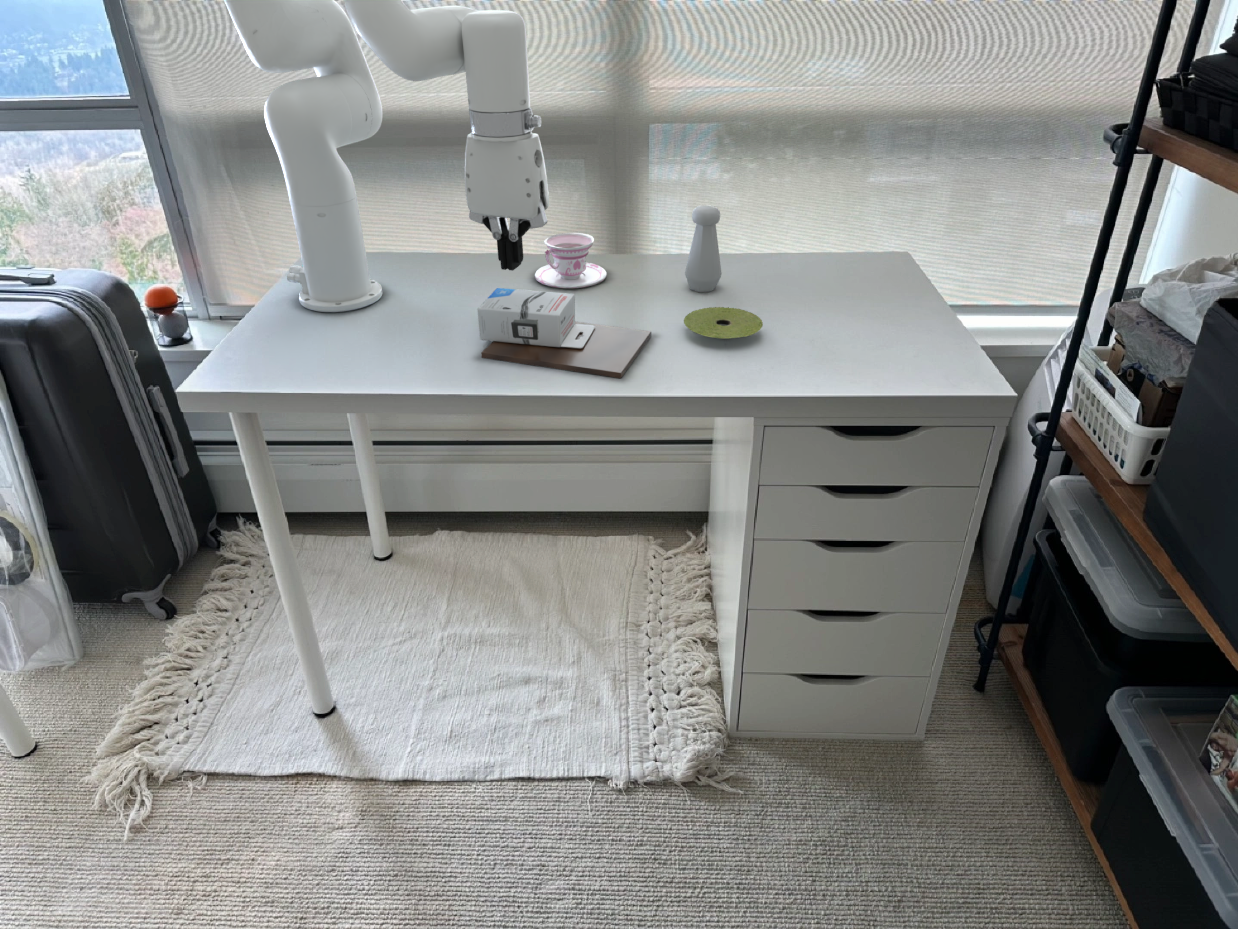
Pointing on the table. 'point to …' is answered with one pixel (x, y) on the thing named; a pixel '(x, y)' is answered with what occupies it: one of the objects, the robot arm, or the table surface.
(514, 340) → the ink box
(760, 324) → the green grinding disc
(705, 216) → the salt shaker
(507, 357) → the walnut board
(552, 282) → the teacup
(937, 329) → the table surface
